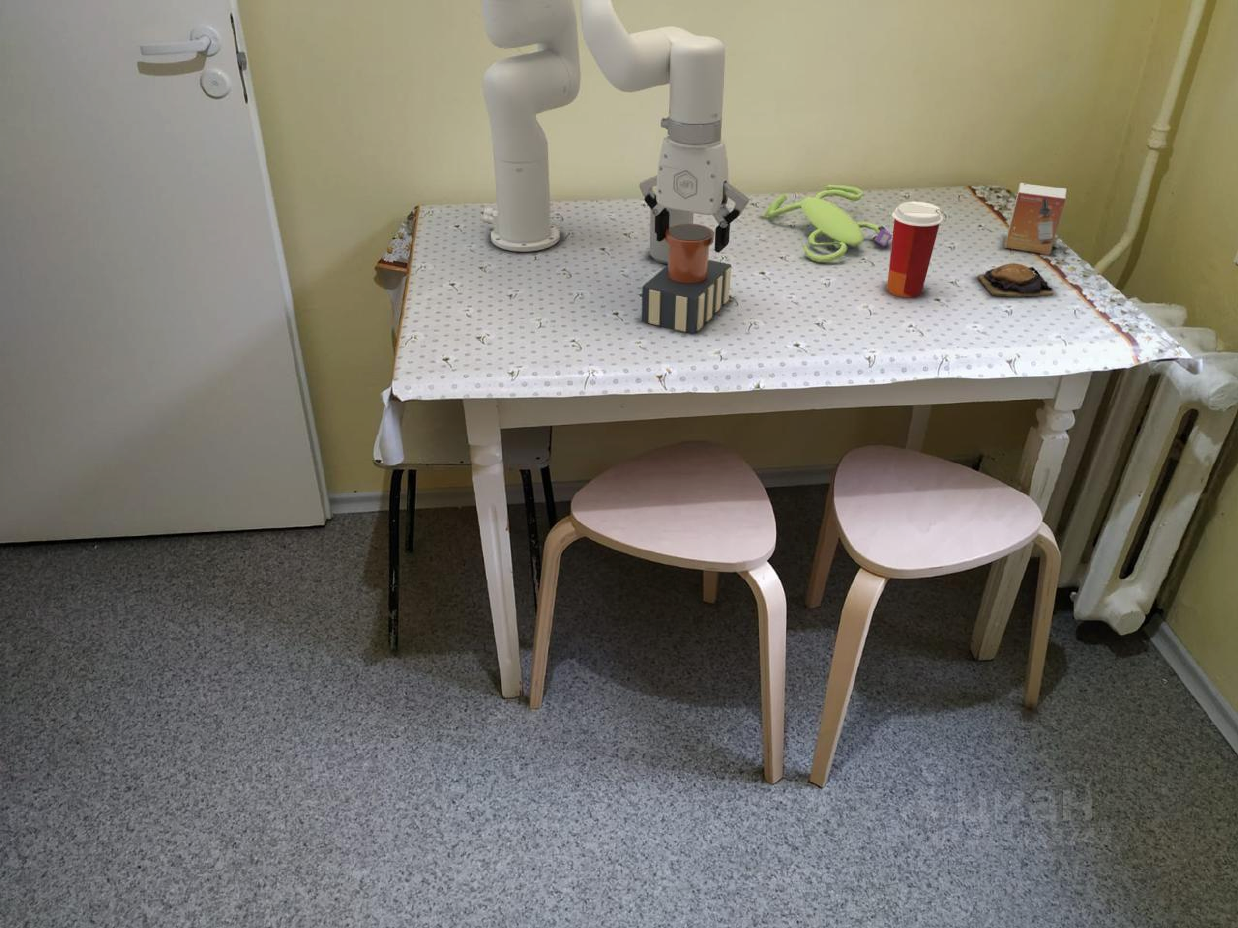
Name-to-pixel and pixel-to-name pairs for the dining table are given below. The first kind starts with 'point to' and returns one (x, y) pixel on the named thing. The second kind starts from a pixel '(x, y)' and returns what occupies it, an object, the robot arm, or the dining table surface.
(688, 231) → the terracotta pot
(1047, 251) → the small box
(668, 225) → the robot arm
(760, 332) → the dining table surface
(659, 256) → the can
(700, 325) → the dark grey striped block
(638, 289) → the dining table surface
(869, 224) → the figurine
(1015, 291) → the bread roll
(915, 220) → the paper cup
